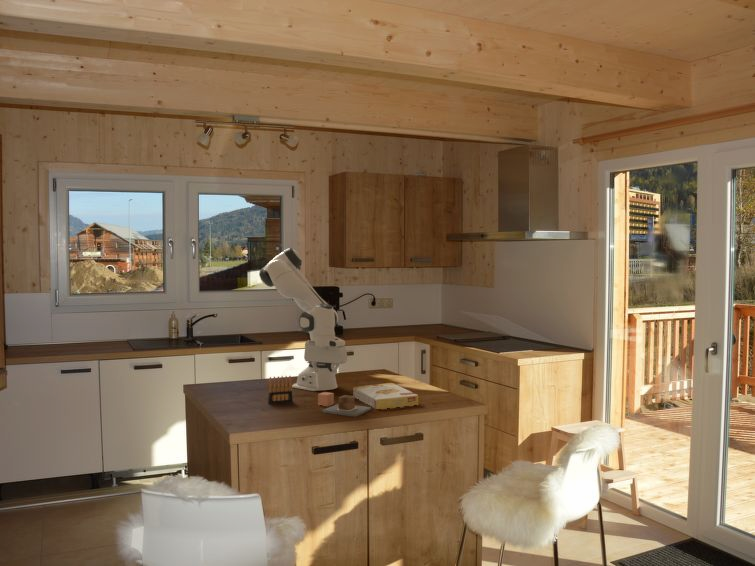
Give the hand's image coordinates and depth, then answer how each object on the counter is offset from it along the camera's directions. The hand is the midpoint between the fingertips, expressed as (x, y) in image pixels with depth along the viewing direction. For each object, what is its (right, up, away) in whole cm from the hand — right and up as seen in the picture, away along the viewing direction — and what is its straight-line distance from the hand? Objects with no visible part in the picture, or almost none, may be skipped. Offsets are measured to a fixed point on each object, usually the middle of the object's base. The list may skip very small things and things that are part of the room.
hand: (325, 372), depth 298 cm
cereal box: (+26, -15, +8) cm, 31 cm away
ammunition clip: (-20, -14, +5) cm, 25 cm away
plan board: (+10, -15, -11) cm, 21 cm away
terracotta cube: (0, -14, +1) cm, 14 cm away
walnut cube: (+10, -14, -11) cm, 20 cm away
